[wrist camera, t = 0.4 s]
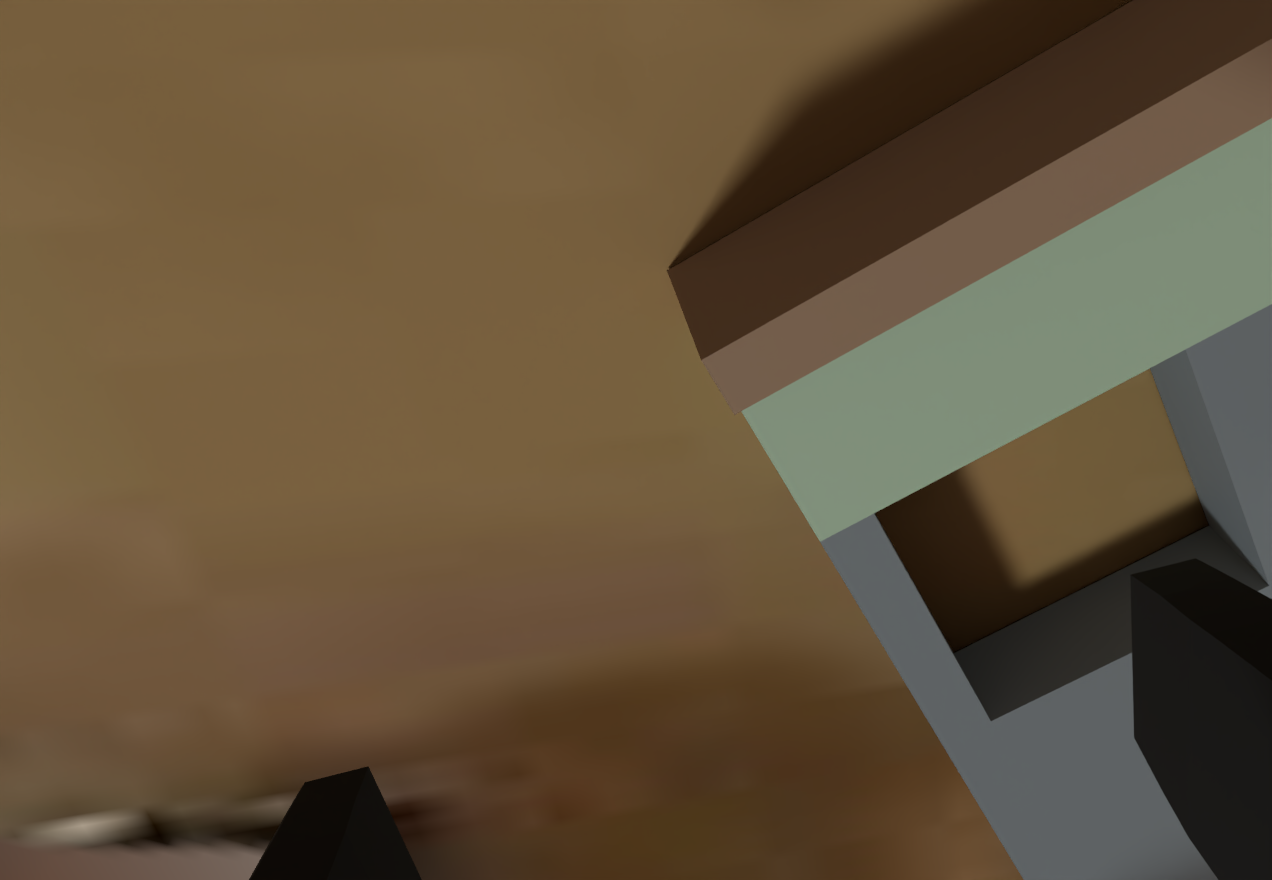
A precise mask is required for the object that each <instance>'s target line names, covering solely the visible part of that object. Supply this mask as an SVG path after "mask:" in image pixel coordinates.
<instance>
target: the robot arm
mask: <svg viewBox="0 0 1272 880" xmlns="http://www.w3.org/2000/svg"><path fill="white" fill-rule="evenodd" d="M1130 581H1131V626H1132V670H1133V715H1134V739H1135V741H1136V742H1137V744H1138V746H1139V748H1140V750H1141V752H1142V754H1143V756H1144V757H1145V759H1146V761H1147V763H1148V765H1149V767H1150V769H1151V771H1152V773H1153V774H1154V776H1155V778H1156V780H1157V782H1158V784H1159V786H1160V788H1161V789H1162V791H1163V793H1164V795H1165V797H1166V798H1167V800H1168V802H1169V804H1170V806H1171V807H1172V809H1173V811H1174V813H1175V814H1176V816H1177V818H1178V820H1179V822H1180V823H1181V825H1182V827H1183V829H1184V830H1185V832H1186V834H1187V836H1188V837H1189V839H1190V840H1191V842H1192V843H1193V844H1194V846H1195V847H1196V849H1197V850H1198V852H1199V853H1200V855H1201V856H1202V857H1203V859H1204V860H1205V862H1206V863H1207V865H1208V866H1209V867H1210V869H1211V870H1212V872H1213V873H1214V874H1215V876H1216V877H1217V879H1218V880H1272V599H1271V598H1269V597H1267V596H1265V595H1263V594H1261V593H1260V592H1258V591H1256V590H1254V589H1252V588H1251V587H1249V586H1247V585H1245V584H1243V583H1241V582H1240V581H1238V580H1236V579H1234V578H1232V577H1230V576H1229V575H1227V574H1225V573H1223V572H1221V571H1219V570H1217V569H1216V568H1214V567H1212V566H1210V565H1208V564H1206V563H1204V562H1202V561H1200V560H1198V559H1196V558H1195V559H1191V560H1187V561H1183V562H1179V563H1175V564H1171V565H1167V566H1163V567H1159V568H1155V569H1151V570H1147V571H1143V572H1139V573H1135V574H1131V575H1130ZM249 880H421V877H420V875H419V873H418V871H417V869H416V867H415V865H414V863H413V860H412V858H411V856H410V854H409V852H408V850H407V848H406V846H405V843H404V841H403V839H402V837H401V835H400V833H399V831H398V828H397V826H396V824H395V822H394V820H393V818H392V816H391V814H390V811H389V809H388V807H387V805H386V803H385V801H384V799H383V796H382V794H381V792H380V790H379V788H378V786H377V784H376V782H375V779H374V777H373V775H372V773H371V771H370V769H369V767H364V768H360V769H356V770H352V771H348V772H344V773H340V774H336V775H332V776H328V777H325V778H321V779H317V780H313V781H309V782H305V783H304V785H303V786H302V788H301V790H300V791H299V793H298V794H297V796H296V798H295V799H294V801H293V803H292V805H291V806H290V808H289V810H288V811H287V813H286V815H285V817H284V818H283V820H282V822H281V824H280V825H279V827H278V829H277V831H276V833H275V834H274V836H273V838H272V840H271V841H270V843H269V845H268V847H267V849H266V850H265V852H264V854H263V856H262V857H261V859H260V861H259V863H258V865H257V866H256V868H255V870H254V872H253V873H252V875H251V877H250V879H249Z"/></svg>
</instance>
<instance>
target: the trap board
mask: <svg viewBox="0 0 1272 880" xmlns="http://www.w3.org/2000/svg"><path fill="white" fill-rule="evenodd" d="M667 271H668V274H669V277H670V279H671V282H672V285H673V287H674V290H675V292H676V295H677V298H678V300H679V303H680V306H681V308H682V311H683V313H684V316H685V319H686V321H687V324H688V326H689V329H690V332H691V334H692V337H693V340H694V342H695V345H696V347H697V350H698V353H699V355H700V358H701V360H702V362H703V364H704V365H705V367H706V369H707V370H708V372H709V374H710V375H711V377H712V379H713V380H714V382H715V383H716V385H717V387H718V388H719V390H720V392H721V393H722V395H723V397H724V398H725V400H726V402H727V403H728V405H729V407H730V408H731V410H732V411H733V413H734V415H735V414H737V413H739V412H741V411H742V413H743V415H744V416H745V418H746V420H747V421H748V423H749V425H750V426H751V428H752V430H753V431H754V433H755V434H756V436H757V438H758V439H759V441H760V443H761V444H762V446H763V448H764V449H765V451H766V453H767V454H768V456H769V458H770V459H771V461H772V463H773V464H774V466H775V468H776V469H777V471H778V473H779V474H780V476H781V478H782V479H783V481H784V483H785V484H786V486H787V488H788V489H789V491H790V493H791V494H792V496H793V498H794V499H795V501H796V503H797V504H798V506H799V508H800V509H801V511H802V512H803V514H804V516H805V517H806V519H807V521H808V522H809V524H810V526H811V527H812V529H813V531H814V532H815V534H816V536H817V537H818V539H819V541H820V542H821V544H822V546H823V547H824V549H825V551H826V552H827V554H828V556H829V557H830V559H831V561H832V562H833V564H834V566H835V567H836V569H837V571H838V572H839V574H840V576H841V577H842V579H843V581H844V582H845V584H846V586H847V587H848V589H849V590H850V592H851V594H852V595H853V597H854V599H855V600H856V602H857V604H858V605H859V607H860V609H861V610H862V612H863V614H864V615H865V617H866V619H867V620H868V622H869V624H870V625H871V627H872V629H873V630H874V632H875V634H876V635H877V637H878V639H879V640H880V642H881V644H882V645H883V647H884V649H885V650H886V652H887V654H888V655H889V657H890V659H891V660H892V662H893V663H894V665H895V667H896V668H897V670H898V672H899V673H900V675H901V677H902V678H903V680H904V682H905V683H906V685H907V687H908V688H909V690H910V692H911V693H912V695H913V697H914V698H915V700H916V702H917V703H918V705H919V707H920V708H921V710H922V712H923V713H924V715H925V717H926V718H927V720H928V722H929V723H930V725H931V727H932V728H933V730H934V732H935V733H936V735H937V737H938V738H939V740H940V741H941V743H942V745H943V746H944V748H945V750H946V751H947V753H948V755H949V756H950V758H951V760H952V761H953V763H954V765H955V766H956V768H957V770H958V771H959V773H960V775H961V776H962V778H963V780H964V781H965V783H966V785H967V786H968V788H969V790H970V791H971V793H972V795H973V796H974V798H975V800H976V801H977V803H978V805H979V806H980V808H981V810H982V811H983V813H984V815H985V816H986V818H987V819H988V821H989V823H990V824H991V826H992V828H993V829H994V831H995V833H996V834H997V836H998V838H999V839H1000V841H1001V843H1002V844H1003V846H1004V848H1005V849H1006V851H1007V853H1008V854H1009V856H1010V858H1011V859H1012V861H1013V863H1014V864H1015V866H1016V868H1017V869H1018V871H1019V873H1020V874H1021V876H1022V878H1023V879H1024V880H1218V879H1217V877H1216V876H1215V874H1214V873H1213V872H1212V870H1211V869H1210V867H1209V866H1208V865H1207V863H1206V862H1205V860H1204V859H1203V857H1202V856H1201V855H1200V853H1199V852H1198V850H1197V849H1196V847H1195V846H1194V844H1193V843H1192V842H1191V840H1190V839H1189V837H1188V836H1187V834H1186V832H1185V830H1184V829H1183V827H1182V825H1181V823H1180V822H1179V820H1178V818H1177V816H1176V814H1175V813H1174V811H1173V809H1172V807H1171V806H1170V804H1169V802H1168V800H1167V798H1166V797H1165V795H1164V793H1163V791H1162V789H1161V788H1160V786H1159V784H1158V782H1157V780H1156V778H1155V776H1154V774H1153V773H1152V771H1151V769H1150V767H1149V765H1148V763H1147V761H1146V759H1145V757H1144V756H1143V754H1142V752H1141V750H1140V748H1139V746H1138V744H1137V742H1136V741H1135V739H1134V715H1133V670H1132V626H1131V581H1130V575H1131V574H1135V573H1139V572H1143V571H1147V570H1151V569H1155V568H1159V567H1163V566H1167V565H1171V564H1175V563H1179V562H1183V561H1187V560H1191V559H1195V558H1196V559H1198V560H1200V561H1202V562H1204V563H1206V564H1208V565H1210V566H1212V567H1214V568H1216V569H1217V570H1219V571H1221V572H1223V573H1225V574H1227V575H1229V576H1230V577H1232V578H1234V579H1236V580H1238V581H1240V582H1241V583H1243V584H1245V585H1247V586H1249V587H1251V588H1252V589H1254V590H1256V591H1258V592H1260V593H1261V594H1263V595H1265V596H1267V597H1269V598H1271V599H1272V0H1133V1H1131V2H1129V3H1127V4H1126V5H1124V6H1122V7H1121V8H1119V9H1117V10H1115V11H1114V12H1112V13H1110V14H1109V15H1107V16H1105V17H1103V18H1102V19H1100V20H1098V21H1096V22H1095V23H1093V24H1091V25H1090V26H1088V27H1086V28H1084V29H1083V30H1081V31H1079V32H1077V33H1076V34H1074V35H1072V36H1071V37H1069V38H1067V39H1065V40H1064V41H1062V42H1060V43H1059V44H1057V45H1055V46H1053V47H1052V48H1050V49H1048V50H1046V51H1045V52H1043V53H1041V54H1040V55H1038V56H1036V57H1034V58H1033V59H1031V60H1029V61H1027V62H1026V63H1024V64H1022V65H1021V66H1019V67H1017V68H1015V69H1014V70H1012V71H1010V72H1009V73H1007V74H1005V75H1003V76H1002V77H1000V78H998V79H996V80H995V81H993V82H991V83H990V84H988V85H986V86H984V87H983V88H981V89H979V90H977V91H976V92H974V93H972V94H971V95H969V96H967V97H965V98H964V99H962V100H960V101H959V102H957V103H955V104H953V105H952V106H950V107H948V108H946V109H945V110H943V111H941V112H940V113H938V114H936V115H934V116H933V117H931V118H929V119H927V120H926V121H924V122H922V123H921V124H919V125H917V126H915V127H914V128H912V129H910V130H909V131H907V132H905V133H903V134H902V135H900V136H898V137H896V138H895V139H893V140H891V141H890V142H888V143H886V144H884V145H883V146H881V147H879V148H877V149H876V150H874V151H872V152H871V153H869V154H867V155H865V156H864V157H862V158H860V159H859V160H857V161H855V162H853V163H852V164H850V165H848V166H846V167H845V168H843V169H841V170H840V171H838V172H836V173H834V174H833V175H831V176H829V177H827V178H826V179H824V180H822V181H821V182H819V183H817V184H815V185H814V186H812V187H810V188H809V189H807V190H805V191H803V192H802V193H800V194H798V195H796V196H795V197H793V198H791V199H790V200H788V201H786V202H784V203H783V204H781V205H779V206H778V207H776V208H774V209H772V210H771V211H769V212H767V213H765V214H764V215H762V216H760V217H759V218H757V219H755V220H753V221H752V222H750V223H748V224H746V225H745V226H743V227H741V228H740V229H738V230H736V231H734V232H733V233H731V234H729V235H728V236H726V237H724V238H722V239H721V240H719V241H717V242H715V243H714V244H712V245H710V246H709V247H707V248H705V249H703V250H702V251H700V252H698V253H696V254H695V255H693V256H691V257H690V258H688V259H686V260H684V261H683V262H681V263H679V264H678V265H676V266H674V267H672V268H671V269H669V270H667ZM1149 368H1150V369H1151V372H1152V375H1153V377H1154V380H1155V383H1156V385H1157V388H1158V391H1159V393H1160V396H1161V399H1162V401H1163V404H1164V407H1165V409H1166V412H1167V415H1168V417H1169V420H1170V423H1171V425H1172V428H1173V431H1174V433H1175V436H1176V439H1177V441H1178V444H1179V447H1180V449H1181V452H1182V455H1183V457H1184V460H1185V462H1186V465H1187V468H1188V470H1189V473H1190V476H1191V478H1192V481H1193V484H1194V486H1195V489H1196V492H1197V494H1198V497H1199V500H1200V502H1201V505H1202V508H1203V510H1204V513H1205V516H1206V518H1207V521H1208V524H1209V526H1207V527H1205V528H1203V529H1201V530H1199V531H1197V532H1195V533H1193V534H1191V535H1189V536H1187V537H1185V538H1183V539H1181V540H1179V541H1177V542H1175V543H1173V544H1171V545H1169V546H1167V547H1165V548H1163V549H1161V550H1159V551H1157V552H1155V553H1153V554H1151V555H1149V556H1147V557H1145V558H1143V559H1141V560H1139V561H1137V562H1135V563H1133V564H1131V565H1129V566H1127V567H1125V568H1123V569H1121V570H1119V571H1117V572H1115V573H1113V574H1111V575H1109V576H1107V577H1105V578H1103V579H1101V580H1099V581H1097V582H1095V583H1093V584H1091V585H1089V586H1087V587H1085V588H1083V589H1081V590H1079V591H1077V592H1075V593H1073V594H1071V595H1069V596H1067V597H1065V598H1063V599H1061V600H1059V601H1057V602H1055V603H1053V604H1051V605H1049V606H1047V607H1045V608H1043V609H1041V610H1039V611H1037V612H1035V613H1033V614H1031V615H1029V616H1027V617H1025V618H1023V619H1021V620H1019V621H1017V622H1015V623H1013V624H1011V625H1009V626H1007V627H1005V628H1003V629H1001V630H999V631H997V632H995V633H993V634H991V635H989V636H987V637H985V638H983V639H981V640H979V641H977V642H975V643H973V644H971V645H969V646H967V647H965V648H963V649H961V650H959V651H957V652H955V653H953V651H952V649H951V648H950V646H949V644H948V642H947V641H946V639H945V637H944V635H943V633H942V632H941V630H940V628H939V626H938V625H937V623H936V621H935V619H934V617H933V616H932V614H931V612H930V610H929V609H928V607H927V605H926V603H925V601H924V600H923V598H922V596H921V594H920V593H919V591H918V589H917V587H916V585H915V584H914V582H913V580H912V578H911V577H910V575H909V573H908V571H907V569H906V568H905V566H904V564H903V562H902V561H901V559H900V557H899V555H898V553H897V552H896V550H895V548H894V546H893V545H892V543H891V541H890V539H889V537H888V536H887V534H886V532H885V530H884V529H883V527H882V525H881V523H880V521H879V520H878V518H877V516H876V514H875V513H876V512H878V511H880V510H881V509H883V508H885V507H887V506H889V505H891V504H893V503H895V502H897V501H899V500H900V499H902V498H904V497H906V496H908V495H910V494H912V493H914V492H916V491H918V490H919V489H921V488H923V487H925V486H927V485H929V484H931V483H933V482H935V481H937V480H938V479H940V478H942V477H944V476H946V475H948V474H950V473H952V472H954V471H956V470H957V469H959V468H961V467H963V466H965V465H967V464H969V463H971V462H973V461H975V460H976V459H978V458H980V457H982V456H984V455H986V454H988V453H990V452H992V451H994V450H995V449H997V448H999V447H1001V446H1003V445H1005V444H1007V443H1009V442H1011V441H1013V440H1014V439H1016V438H1018V437H1020V436H1022V435H1024V434H1026V433H1028V432H1030V431H1032V430H1033V429H1035V428H1037V427H1039V426H1041V425H1043V424H1045V423H1047V422H1049V421H1051V420H1052V419H1054V418H1056V417H1058V416H1060V415H1062V414H1064V413H1066V412H1068V411H1069V410H1071V409H1073V408H1075V407H1077V406H1079V405H1081V404H1083V403H1085V402H1087V401H1088V400H1090V399H1092V398H1094V397H1096V396H1098V395H1100V394H1102V393H1104V392H1106V391H1107V390H1109V389H1111V388H1113V387H1115V386H1117V385H1119V384H1121V383H1123V382H1125V381H1126V380H1128V379H1130V378H1132V377H1134V376H1136V375H1138V374H1140V373H1142V372H1144V371H1145V370H1147V369H1149Z"/></svg>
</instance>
